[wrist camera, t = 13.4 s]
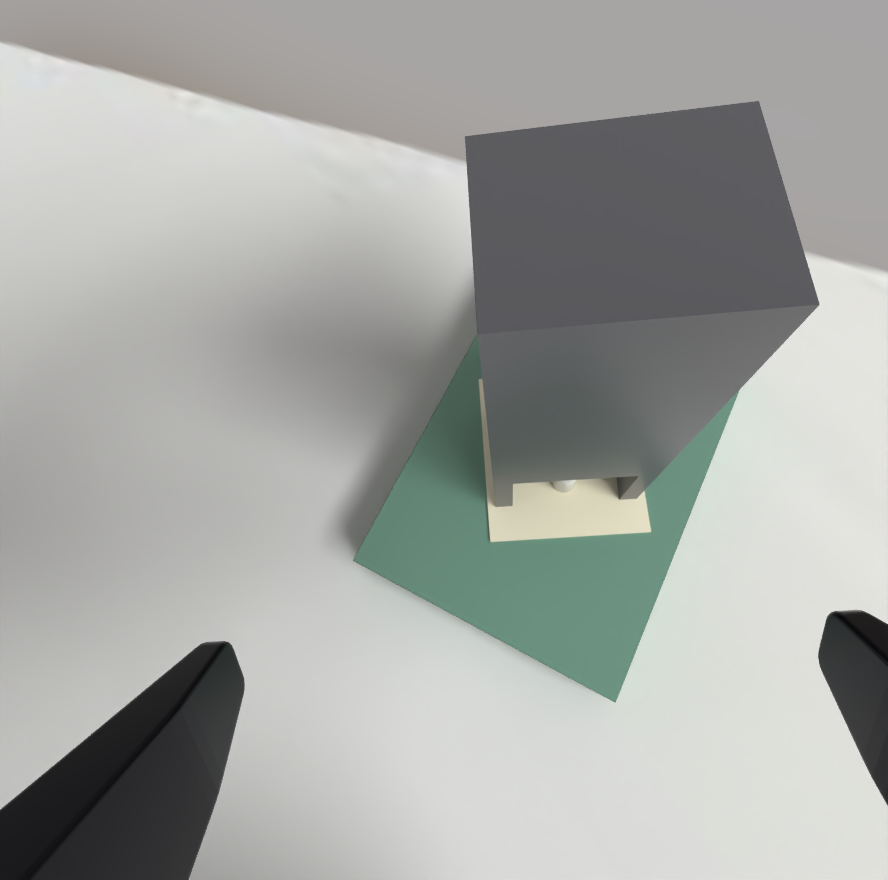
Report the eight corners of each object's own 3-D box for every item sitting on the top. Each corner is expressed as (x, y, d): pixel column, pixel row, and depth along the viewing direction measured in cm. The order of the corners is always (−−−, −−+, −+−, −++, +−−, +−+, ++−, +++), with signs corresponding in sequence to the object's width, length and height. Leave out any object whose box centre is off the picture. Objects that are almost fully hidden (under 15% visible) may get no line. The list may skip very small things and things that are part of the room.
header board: (607, 697, 19) (631, 712, 16) (362, 565, 22) (332, 550, 18) (741, 365, 23) (786, 312, 19) (516, 282, 25) (517, 221, 21)
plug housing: (636, 498, 20) (819, 304, 8) (495, 507, 20) (477, 334, 9) (620, 395, 21) (758, 101, 10) (488, 405, 22) (465, 136, 10)
